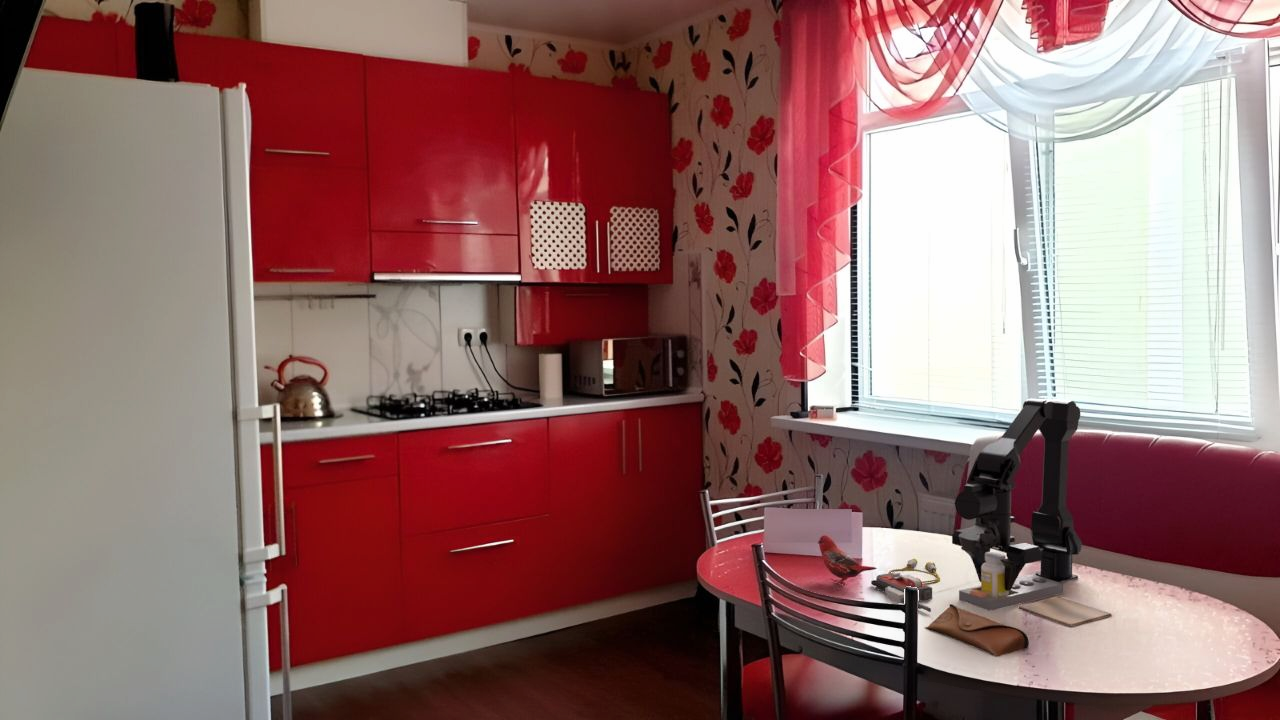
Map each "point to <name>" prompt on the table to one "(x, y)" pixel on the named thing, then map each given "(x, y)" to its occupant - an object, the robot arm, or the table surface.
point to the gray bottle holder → (1013, 593)
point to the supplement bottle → (993, 575)
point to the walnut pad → (1064, 611)
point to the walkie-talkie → (902, 587)
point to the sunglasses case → (979, 631)
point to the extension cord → (928, 566)
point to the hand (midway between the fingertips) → (994, 586)
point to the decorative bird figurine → (839, 561)
